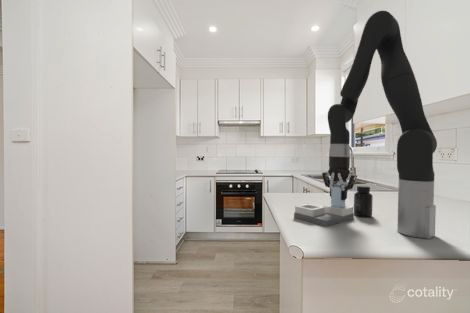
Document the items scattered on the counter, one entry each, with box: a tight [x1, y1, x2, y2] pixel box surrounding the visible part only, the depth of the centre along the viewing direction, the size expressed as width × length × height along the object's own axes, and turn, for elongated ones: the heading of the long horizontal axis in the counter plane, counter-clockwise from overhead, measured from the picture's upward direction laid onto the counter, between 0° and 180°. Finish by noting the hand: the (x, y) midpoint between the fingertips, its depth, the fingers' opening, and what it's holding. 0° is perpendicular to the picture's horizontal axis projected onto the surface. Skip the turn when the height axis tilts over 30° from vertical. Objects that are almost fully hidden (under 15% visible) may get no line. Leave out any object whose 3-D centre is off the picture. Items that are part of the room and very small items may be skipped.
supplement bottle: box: [353, 185, 373, 218], centre depth 103 cm, size 7×7×12 cm
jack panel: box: [293, 203, 355, 227], centre depth 98 cm, size 14×19×4 cm
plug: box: [330, 183, 346, 208], centre depth 98 cm, size 4×4×9 cm
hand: (338, 198), depth 98 cm, fingers closed on plug, 3 cm apart
